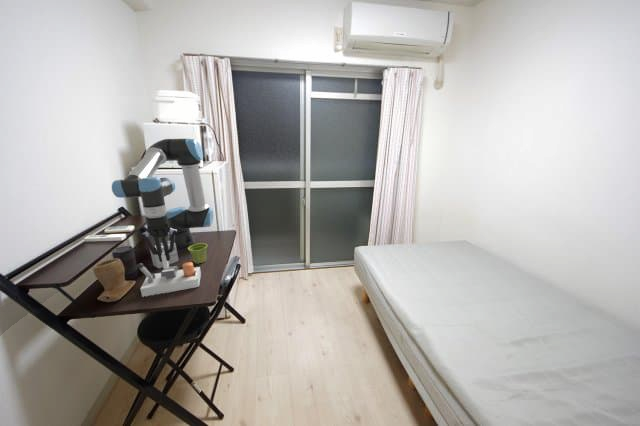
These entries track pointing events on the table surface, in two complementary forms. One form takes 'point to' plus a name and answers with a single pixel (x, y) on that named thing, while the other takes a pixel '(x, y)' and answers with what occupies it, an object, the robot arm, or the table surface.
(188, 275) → the orange button
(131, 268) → the camera lens
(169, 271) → the plate
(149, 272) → the toggle lever
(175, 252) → the light bulb box
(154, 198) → the robot arm
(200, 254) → the plant pot
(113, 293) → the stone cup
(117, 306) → the table surface
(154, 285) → the console
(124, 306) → the table surface
